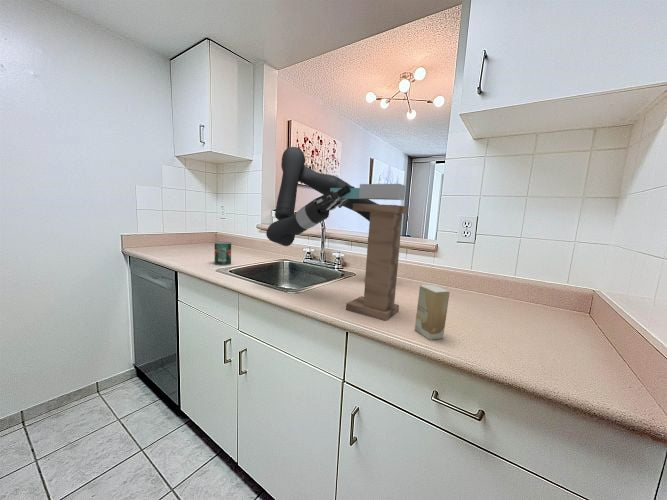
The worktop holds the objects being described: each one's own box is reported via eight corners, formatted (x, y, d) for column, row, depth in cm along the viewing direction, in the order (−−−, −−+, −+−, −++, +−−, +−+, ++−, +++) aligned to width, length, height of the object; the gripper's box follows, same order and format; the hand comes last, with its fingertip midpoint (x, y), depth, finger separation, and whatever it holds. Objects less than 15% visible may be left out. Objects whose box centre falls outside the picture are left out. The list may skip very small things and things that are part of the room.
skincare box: (413, 329, 72) (418, 284, 71) (427, 328, 74) (432, 283, 72) (430, 341, 67) (435, 291, 65) (444, 339, 68) (450, 290, 66)
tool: (328, 197, 88) (328, 184, 87) (336, 198, 92) (337, 186, 91) (398, 198, 75) (399, 183, 75) (404, 199, 79) (405, 185, 79)
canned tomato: (212, 263, 140) (212, 241, 139) (227, 262, 146) (227, 241, 144) (217, 266, 135) (217, 243, 133) (233, 264, 140) (233, 243, 138)
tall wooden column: (361, 301, 93) (368, 205, 88) (398, 311, 86) (408, 206, 82) (345, 309, 84) (352, 203, 80) (385, 320, 78) (396, 205, 73)
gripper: (294, 203, 89) (335, 174, 80) (320, 205, 101) (358, 180, 92) (303, 224, 88) (345, 197, 79) (327, 224, 100) (367, 200, 91)
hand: (351, 188), depth 85 cm, fingers closed on tool, 3 cm apart
